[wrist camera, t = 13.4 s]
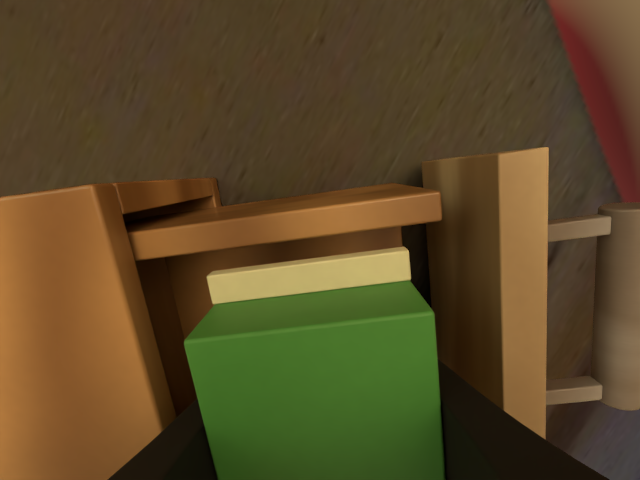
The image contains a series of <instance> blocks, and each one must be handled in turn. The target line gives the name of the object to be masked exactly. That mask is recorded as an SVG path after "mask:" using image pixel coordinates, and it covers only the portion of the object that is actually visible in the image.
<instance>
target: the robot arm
mask: <svg viewBox="0 0 640 480" xmlns="http://www.w3.org/2000/svg"><path fill="white" fill-rule="evenodd" d="M438 372H439V387H440V402H441V417H442V432H443V446H444V461H445V476H446V480H609V479H607V478H606V477H604V476H603V475H601V474H599V473H598V472H596V471H594V470H593V469H591V468H589V467H588V466H586V465H584V464H583V463H581V462H579V461H578V460H576V459H574V458H573V457H571V456H570V455H568V454H567V453H565V452H563V451H562V450H560V449H559V448H557V447H556V446H554V445H553V444H551V443H550V442H548V441H547V440H545V439H544V438H542V437H541V436H539V435H538V434H536V433H535V432H534V431H532V430H531V429H529V428H528V427H526V426H525V425H523V424H522V423H520V422H519V421H518V420H516V419H515V418H513V417H512V416H511V415H509V414H508V413H506V412H505V411H504V410H502V409H501V408H500V407H498V406H497V405H496V404H494V403H493V402H492V401H490V400H489V399H488V398H486V397H485V396H484V395H482V394H481V393H480V392H479V391H477V390H476V389H475V388H474V387H472V386H471V385H470V384H469V383H467V382H466V381H465V380H464V379H462V378H461V377H460V376H459V375H457V374H456V373H455V372H454V371H452V370H451V369H450V368H449V367H448V366H446V365H445V364H444V363H443V362H441V361H440V360H439V359H438ZM108 480H218V479H217V475H216V471H215V467H214V463H213V459H212V455H211V451H210V447H209V443H208V439H207V435H206V431H205V427H204V423H203V419H202V415H201V411H200V407H199V403H198V399H196V400H195V401H194V402H193V403H192V404H191V405H190V406H189V407H188V408H186V409H185V410H184V411H183V412H182V413H181V414H180V415H179V416H178V417H177V418H176V419H175V420H174V421H173V422H172V423H170V424H169V425H168V426H167V427H166V428H165V429H164V430H163V431H162V432H161V433H160V434H159V435H158V436H157V437H155V438H154V439H153V440H152V441H151V442H150V443H149V444H148V445H147V446H145V447H144V448H143V449H142V450H141V451H140V452H139V453H137V454H136V455H135V456H134V457H133V458H132V459H131V460H129V461H128V462H127V463H126V464H125V465H124V466H122V467H121V468H120V469H119V470H118V471H117V472H116V473H114V474H113V475H112V476H111V477H110V478H109V479H108Z"/></svg>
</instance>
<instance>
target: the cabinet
mask: <svg viewBox="0 0 640 480" xmlns="http://www.w3.org/2000/svg"><path fill="white" fill-rule="evenodd" d="M221 206H222V205H221V200H220V195H219V191H218V186H217V181H216V178H195V179H176V180H156V181H137V182H117V183H100V184H87V185H80V186H74V187H67V188H60V189H53V190H46V191H39V192H32V193H25V194H18V195H11V196H4V197H0V480H108V479H109V478H110V477H111V476H112V475H113V474H114V473H116V472H117V471H118V470H119V469H120V468H121V467H122V466H124V465H125V464H126V463H127V462H128V461H129V460H131V459H132V458H133V457H134V456H135V455H136V454H137V453H139V452H140V451H141V450H142V449H143V448H144V447H145V446H147V445H148V444H149V443H150V442H151V441H152V440H153V439H154V438H155V437H157V436H158V435H159V434H160V433H161V432H162V431H163V430H164V429H165V428H166V427H167V426H168V425H169V424H170V423H172V422H173V421H174V420H175V419H176V418H177V416H176V412H175V409H174V405H173V401H172V398H171V394H170V390H169V386H168V383H167V379H166V375H165V372H164V368H163V364H162V360H161V357H160V353H159V349H158V346H157V342H156V338H155V334H154V331H153V327H152V323H151V320H150V316H149V312H148V308H147V305H146V301H145V297H144V294H143V290H142V286H141V282H140V279H139V275H138V271H137V268H136V264H135V260H134V256H133V253H132V249H131V245H130V242H129V238H128V234H127V230H126V227H125V223H124V222H128V221H132V220H136V219H140V218H144V217H149V216H156V215H163V214H170V213H178V212H185V211H192V210H199V209H207V208H214V207H221Z"/></svg>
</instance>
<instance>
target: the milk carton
mask: <svg viewBox="0 0 640 480" xmlns="http://www.w3.org/2000/svg"><path fill="white" fill-rule="evenodd" d="M410 280H411V270H410V258H409V251H408V250H407V249H406V248H405V247H397V248H389V249H381V250H373V251H365V252H358V253H350V254H342V255H334V256H326V257H319V258H311V259H303V260H295V261H287V262H280V263H272V264H264V265H256V266H248V267H241V268H233V269H225V270H217V271H212V272H211V273H210V274H209V275H207V282H208V286H209V290H210V295H211V299H212V303H213V304H215V305H214V306H213V307H212V308H211V309H210V311H209V312H208V313H207V314H206V315H205V316H204V318H203V319H202V320H201V321H200V322H199V324H198V325H197V326H196V327H195V328H194V329H193V331H192V332H191V333H190V334H189V335H188V337H187V338H186V339H185V340H184V347H185V351H186V355H187V359H188V363H189V367H190V371H191V375H192V379H193V383H194V387H195V391H196V395H197V399H198V403H199V407H200V411H201V415H202V419H203V423H204V427H205V431H206V435H207V439H208V443H209V447H210V451H211V455H212V459H213V463H214V467H215V471H216V475H217V479H218V480H446V476H445V461H444V446H443V432H442V417H441V402H440V387H439V372H438V358H437V343H436V328H435V314H434V312H433V310H432V309H431V308H430V306H429V305H428V304H427V302H426V301H425V300H424V298H423V297H422V296H421V294H420V293H419V292H418V291H417V289H416V288H415V287H414V285H413V284H412V283H411V281H410Z"/></svg>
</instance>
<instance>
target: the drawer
mask: <svg viewBox="0 0 640 480" xmlns="http://www.w3.org/2000/svg"><path fill="white" fill-rule="evenodd" d="M548 166H549V148H548V147H541V148H533V149H524V150H515V151H506V152H497V153H488V154H480V155H471V156H462V157H453V158H445V159H438V160H431V161H424V162H422V176H423V188H420V187H414V186H408V185H402V184H396V183H388V184H380V185H373V186H366V187H359V188H351V189H344V190H337V191H330V192H323V193H315V194H308V195H301V196H294V197H286V198H279V199H272V200H265V201H257V202H250V203H243V204H236V205H228V206H221V207H214V208H207V209H199V210H192V211H185V212H178V213H170V214H163V215H156V216H149V217H144V218H140V219H136V220H132V221H128V222H124V223H125V227H126V230H127V234H128V238H129V242H130V245H131V249H132V253H133V256H134V260H135V264H136V268H137V271H138V275H139V279H140V282H141V286H142V290H143V294H144V297H145V301H146V305H147V308H148V312H149V316H150V320H151V323H152V327H153V331H154V334H155V338H156V342H157V346H158V349H159V353H160V357H161V360H162V364H163V368H164V372H165V375H166V379H167V383H168V386H169V390H170V394H171V398H172V401H173V405H174V409H175V412H176V416H177V417H178V416H179V415H180V414H181V413H182V412H183V411H184V410H185V409H186V408H188V407H189V406H190V405H191V404H192V403H193V402H194V401H195V400H196V399H197V395H196V391H195V387H194V383H193V379H192V375H191V371H190V367H189V363H188V359H187V355H186V351H185V347H184V340H185V339H186V338H187V337H188V335H189V334H190V333H191V332H192V331H193V329H194V328H195V327H196V326H197V325H198V324H199V322H200V321H201V320H202V319H203V318H204V316H205V315H206V314H207V313H208V312H209V311H210V309H211V308H212V307H213V306H214V305H215V304H213V303H212V299H211V295H210V290H209V286H208V282H207V275H209V274H210V273H211V272H212V271H217V270H225V269H233V268H241V267H248V266H256V265H264V264H272V263H280V262H287V261H295V260H303V259H311V258H319V257H326V256H334V255H342V254H350V253H358V252H365V251H373V250H381V249H389V248H397V247H403V241H402V229H401V226H408V225H415V224H423V223H426V233H427V248H428V262H429V277H430V291H431V305H432V310H433V312H434V314H435V328H436V343H437V358H438V359H439V360H440V361H441V362H443V363H444V364H445V365H446V366H448V367H449V368H450V369H451V370H452V371H454V372H455V373H456V374H457V375H459V376H460V377H461V378H462V379H464V380H465V381H466V382H467V383H469V384H470V385H471V386H472V387H474V388H475V389H476V390H477V391H479V392H480V393H481V394H482V395H484V396H485V397H486V398H488V399H489V400H490V401H492V402H493V403H494V404H496V405H497V406H498V407H500V408H501V409H502V410H504V411H505V412H506V413H508V414H509V415H511V416H512V417H513V418H515V419H516V420H518V421H519V422H520V423H522V424H523V425H525V426H526V427H528V428H529V429H531V430H532V431H534V432H535V433H536V434H538V435H539V436H541V437H542V438H544V439H545V431H546V405H553V404H563V403H573V402H583V401H592V400H599V401H600V402H602V403H604V404H606V405H608V406H610V407H613V408H616V409H621V410H629V411H632V410H638V409H640V203H639V202H628V203H612V204H606V205H602V206H600V207H599V208H598V214H594V215H586V216H578V217H570V218H563V219H555V220H548ZM594 236H597V248H596V271H595V293H594V316H593V338H592V361H591V376H581V377H571V378H562V379H552V380H546V342H547V254H548V242H554V241H562V240H570V239H578V238H586V237H594Z"/></svg>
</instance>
